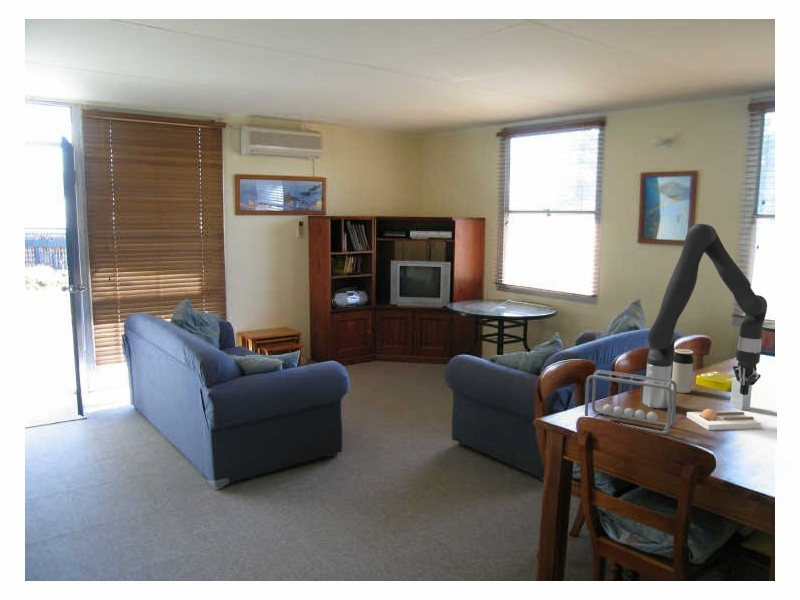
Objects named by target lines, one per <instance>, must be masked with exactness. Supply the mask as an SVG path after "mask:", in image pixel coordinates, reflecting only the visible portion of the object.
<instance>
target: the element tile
mask: <svg viewBox="0 0 800 600" xmlns="http://www.w3.org/2000/svg"><path fill="white" fill-rule="evenodd" d="M733 377H736V376H735V375H734V374H729V373H728V374H727V373H724V372H720V371H716V370H715V371H714V370H713V371H711V370H710V371H708V372H705V373H701V374H700V373H699V374H697V375H696V377H695V380H696V381H695V384H696V385H698V386H702V387H706V388H710V389H714V390H718V391H723V392H731V390H732V378H733Z"/></svg>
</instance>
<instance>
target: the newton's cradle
mask: <svg viewBox="0 0 800 600" xmlns="http://www.w3.org/2000/svg"><path fill="white" fill-rule="evenodd" d="M598 374H604V375H605V374H606V375H609V376H603V375H598ZM613 376H617V377H619V378H615V377H613ZM623 377H625V378H630V379H624V378H623ZM591 379H592V397H591V410H592V412H593V413H594V415H593V416H592V417H594V416H595V415H596V414H597V413H599V414H597V415H600V414H606V415H609V416H608V417H611V416H612V418H617V419H622V420H628V421H633V422H638V421H639V423H645V424H649V425H656V426H662V427H664V429H663V430H659V429H652V428H646V427H642V426H641V427H640V426H636V425H631V424H625V423H621V422H620V424H623V425H626V426H629V427H634V428H637V429H640V430H639V431H641V430H644V431H643V432H647V433H654V434H658V435H667V434H669V432H670V431H671V427H673V426H674V425H675V422H676V421H675V419H676V408H677V407H676V406H677V405H676V404H677V393H678V392H677V384H676V383H675V382H674V381H673V380H672V379H671V380H668V379H661V378H654V377H647V376H646V375H639V374H631V373H624V372H619V371H612V370H605V369H597V370H595V371H594V372H593V374H590V375H589V376H587V378H586V380H585V381H586V383H585V384H586V385H585V399H584V400H585V401H584V416H589V399H590V398H589V397H590V396H589V395H590V380H591ZM634 379H640V380H642V381H639V380H638V381H637V380H634ZM597 380H603V381H607V382H615V383H620V385H622V384H627V385H628V384H629V385H628V386H629V388H628V389H629V390H628V399H629V400H628V405H631V399H632V396H631V393H632V392H633V391H632V390H633V386H631V387H630V385H636V386H640V388H639V389H640V390H639V392H640V393H639V400H640V403H642V402H643V396H642V393H643V386H648V387H655V388H661V389H667V390H668V391H669V400H668V407H667V418H666V422H660V421H658V414H657V413H656V412H655V411H654V408H653V407H651V411H649V412H647V413H645V411H644V410H642V409H641V408H642V406H639V409H637V410H635V411H634V409H633V408H631V406H628V407H626V408H625V409H624V407H622V406H621V405H620V403H621V402H620V401H621V398H620V395H621V392H622V388H620V386H617V387H618V389H617V390H618V397H617V398H618V401H617V406H614V407H613V405H611V404H610V402H607V404H604V405H603V406H602V411H598V410H597V409H596V392H597ZM646 380H651V381H654V384H652V383H645V382H644V381H646ZM655 381H658V382H665V383H668V384H667V385H666V386H665V385H658V384H655ZM669 383H671V385H672V384H673V386H674V389H673V390H671V387H670V388H669V387H668V385H669ZM609 385H610V386H609V389H611V387H612V383H610V384H609ZM641 386H642V387H641ZM610 396H611V392H608V399H610V398H611V397H610ZM653 400H654V393H653ZM597 415H596V416H597ZM596 416H595V417H596ZM595 417H594V418H595ZM645 418H646V419H645Z"/></svg>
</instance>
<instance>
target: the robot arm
mask: <svg viewBox="0 0 800 600" xmlns="http://www.w3.org/2000/svg"><path fill="white" fill-rule="evenodd" d="M720 238H721V237H719V235H718V232H717V231H716V229H715V228H714V227H713V226H712V225H710V224H706V223H696V224H693V225H692V226H691V227H690V228H689V229H688V230H687V233H686V236H685V239H684V243H683V246H682V251H681V253H680V256H679V258H678V261H677V263H676V265H675V267H674V270H673V272H672V274H671V277H670V279H669V281H668V284H667V286H666V289H665V292H664V295H663V298H662V302H661V304H660V309H659V312H658V314H657V317H656V318H655V320H654V322H653V324H652V326H651V328H650V330H649V331H648V334H647V341H648V344H649V346H648V353H647V357H646V360H647V361H646V375H645V376H647V377H654V378H661V379H668V380H672V370H673V357H674V353H675V350H674V349H675V338H676V337H675V329H676V326H677V323H678V321H679V318H680V317H681V315H682V313H683V311H684V310H685V308H686V307H687V305H688V303H689V301H690V299H691V297H692V294H693V292H694V289H695V287H696V284H697V280H698V273H699V268H700V267H699V266H700V263H701V260H702V258H703V256H704V254H706V255H707V256H708V258H709V260H711V262H712V263H713V265H714V267H715V270H716V271H717V273H718V275H719V277H720V278H721V280H722V282H723V283H724V284H725V285H726V287H727V289H728V290H729V291H730V292H731V293H732V295H733V297H734V300H735V301H736V303H737V305H738V307H739V308H740V310H741V311H742V313H744V318H743V321H742V322H741V324H740V330H739V338H738V341H737V347H736V348H737V350H736V361H737V364H736V365H732V366H733V367H732V369H733V372H734V376H736V379H737V381H739V382H740V384H741V385H740V394H742V395H748V391H749V386H750V385H752V386H754V385H755V384H756V383H757V381H759V379H761V376H762V375H761V374H759V373H757V365H758V364H759V363H760V361H761V352H762V337H763V325H764V322H765V319H766V315H767V310H768V302H767V299H766V298H765V297H763V296H762V295H758V294H756V293H755V292H754V290H753V289H752V287H751V286H752V285H751V282H750V280H749V279H748V278H747V276H746V275H745V274H744V272H743V271H742V270H741V268H740V267H739V266H738V264H737V263H736V262H735V261H734V260H733V258H732V257H731V256H730V254H729V253H728V251H727V249H726V248H725V247H724V245H723V243H722V241H721V239H720ZM644 382H645V383H652V384H654V381H651V380H644ZM655 384H658V385H665V386H666V385H667V384H668V383H665V382H658V381H655ZM671 385H672V383H669V385H668V387H669V388H671ZM642 387H643V392H642V402H641V404H643V405H645V406H647V407H648V408H653V409H654V408H655V409H668V400H669V391H668V390H667V389H661V388H655V387H648V386H642ZM653 393H654V400H653Z"/></svg>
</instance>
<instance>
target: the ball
mask: <svg viewBox="0 0 800 600" xmlns="http://www.w3.org/2000/svg"><path fill="white" fill-rule="evenodd" d="M715 411H716V410H714V409H712V408H705V409H703V410H702V411H701V412H702V418H704V419H706V420H707V421H715V420H716V418H717V415H716V412H715Z"/></svg>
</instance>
